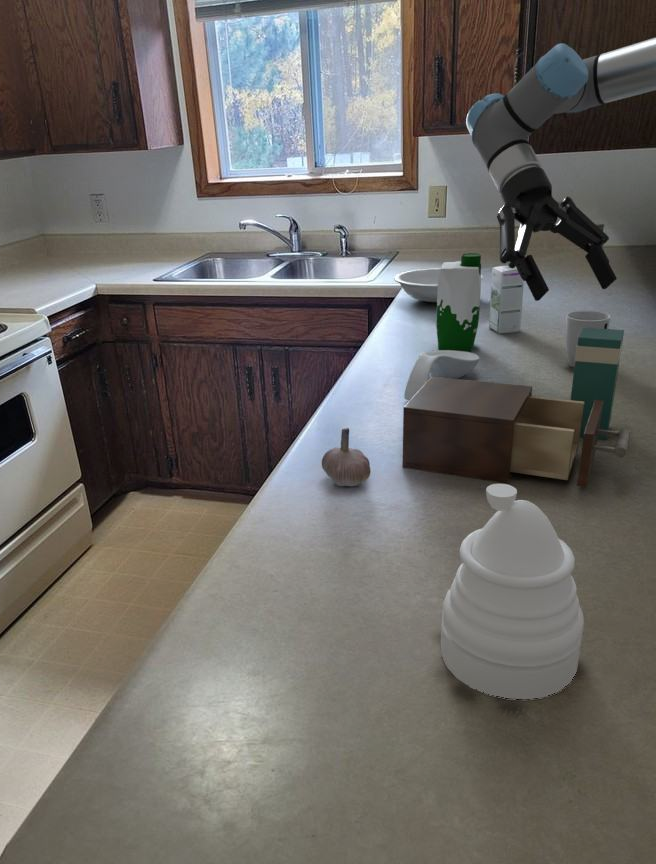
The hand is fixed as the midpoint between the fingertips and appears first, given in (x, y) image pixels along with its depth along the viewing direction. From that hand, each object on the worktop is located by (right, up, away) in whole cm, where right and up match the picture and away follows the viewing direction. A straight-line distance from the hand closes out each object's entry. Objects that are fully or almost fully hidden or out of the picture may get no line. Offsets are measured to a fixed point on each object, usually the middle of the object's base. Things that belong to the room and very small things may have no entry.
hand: (576, 289), depth 115 cm
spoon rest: (-16, -11, +28) cm, 34 cm away
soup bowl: (-4, +20, +90) cm, 93 cm away
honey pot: (-23, -47, -43) cm, 68 cm away
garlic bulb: (-36, -30, -7) cm, 48 cm away
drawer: (-6, -27, -8) cm, 29 cm away
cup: (+14, -7, +34) cm, 38 cm away
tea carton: (+4, -22, +4) cm, 22 cm away
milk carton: (-8, 0, +49) cm, 50 cm away
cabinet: (-18, -26, -2) cm, 31 cm away
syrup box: (+6, +6, +60) cm, 61 cm away
